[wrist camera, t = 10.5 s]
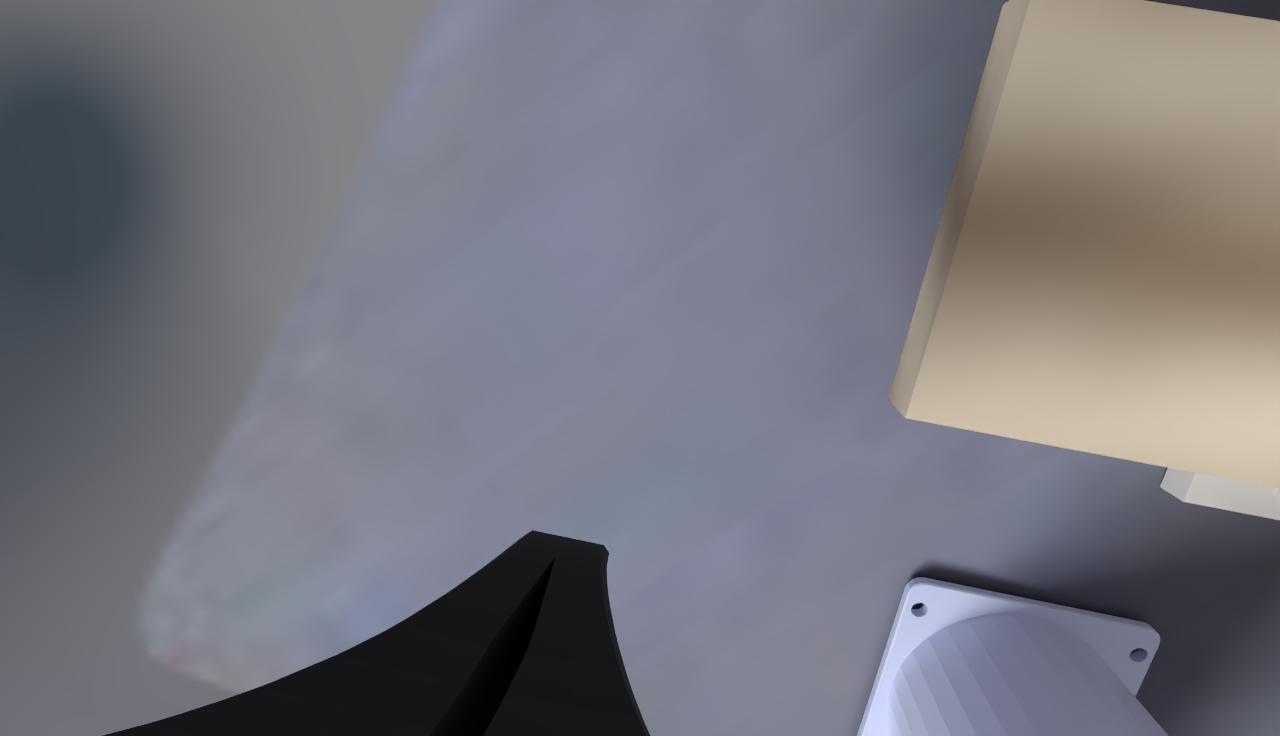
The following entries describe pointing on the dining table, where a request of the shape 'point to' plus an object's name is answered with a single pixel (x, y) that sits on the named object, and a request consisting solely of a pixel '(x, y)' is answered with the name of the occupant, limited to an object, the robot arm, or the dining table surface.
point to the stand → (1223, 493)
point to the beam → (1113, 242)
